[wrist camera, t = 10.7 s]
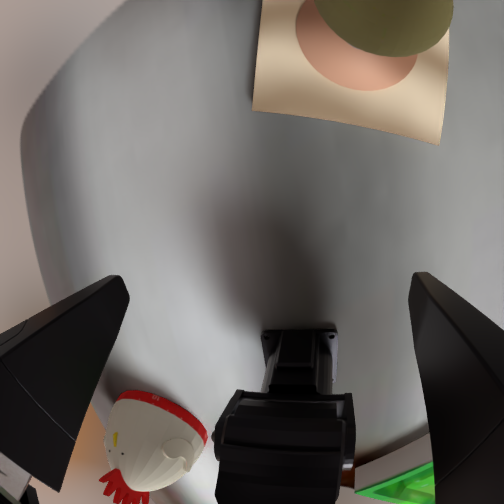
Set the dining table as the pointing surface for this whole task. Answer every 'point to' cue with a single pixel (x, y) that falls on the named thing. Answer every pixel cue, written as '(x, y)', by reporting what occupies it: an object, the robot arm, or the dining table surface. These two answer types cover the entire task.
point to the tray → (400, 475)
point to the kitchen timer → (149, 445)
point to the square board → (345, 76)
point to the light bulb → (388, 24)
